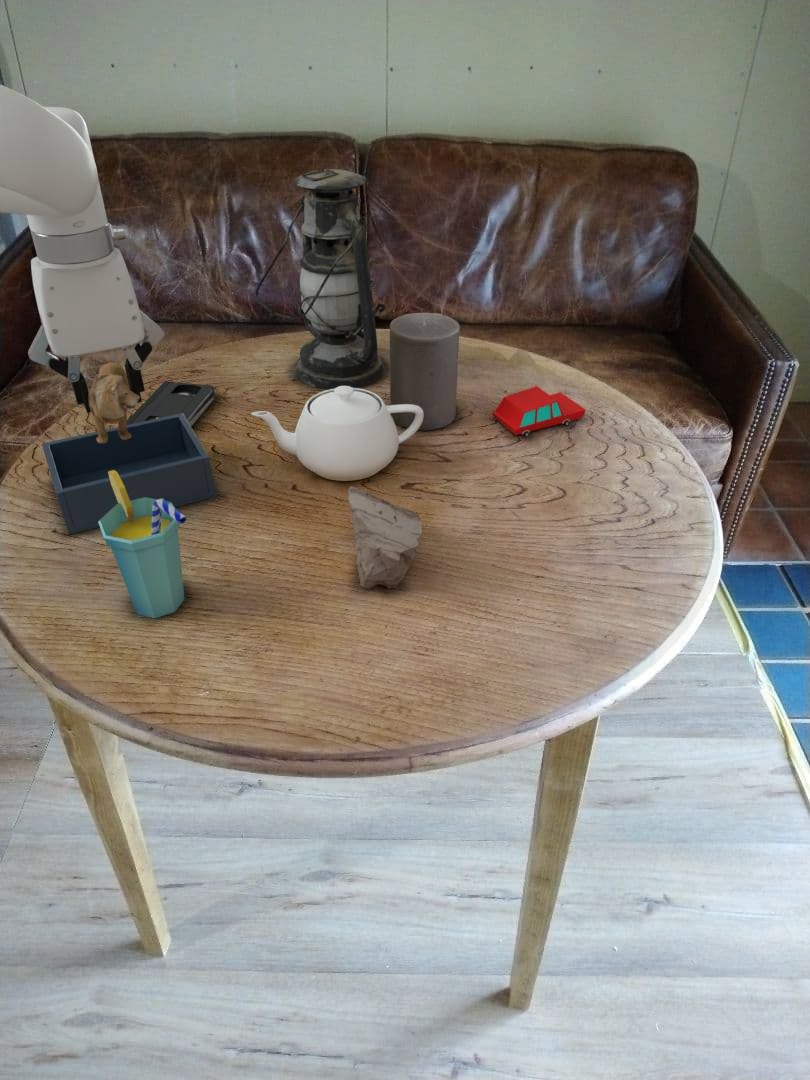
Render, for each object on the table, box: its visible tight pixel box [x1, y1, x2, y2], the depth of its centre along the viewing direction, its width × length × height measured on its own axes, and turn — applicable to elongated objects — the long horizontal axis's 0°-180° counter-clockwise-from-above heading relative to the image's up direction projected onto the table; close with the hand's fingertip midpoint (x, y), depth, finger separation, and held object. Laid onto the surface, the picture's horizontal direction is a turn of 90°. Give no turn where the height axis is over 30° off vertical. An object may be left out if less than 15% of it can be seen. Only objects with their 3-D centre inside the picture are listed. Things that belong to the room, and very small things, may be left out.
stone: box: [347, 485, 423, 589], centre depth 87 cm, size 15×9×10 cm
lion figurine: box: [88, 361, 140, 444], centre depth 93 cm, size 15×5×9 cm, turn 22°
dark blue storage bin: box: [41, 413, 217, 535], centre depth 99 cm, size 18×13×6 cm
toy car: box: [491, 385, 587, 437], centre depth 114 cm, size 6×12×4 cm, turn 117°
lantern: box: [255, 168, 386, 390], centre depth 118 cm, size 19×19×30 cm
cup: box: [98, 470, 187, 619], centre depth 78 cm, size 14×8×15 cm, turn 50°
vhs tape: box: [126, 380, 216, 428], centre depth 115 cm, size 14×8×2 cm, turn 169°
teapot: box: [251, 386, 424, 482], centre depth 102 cm, size 22×14×11 cm, turn 101°
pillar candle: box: [389, 312, 461, 431], centre depth 112 cm, size 10×10×15 cm
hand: (112, 401), depth 93 cm, fingers closed on lion figurine, 4 cm apart
